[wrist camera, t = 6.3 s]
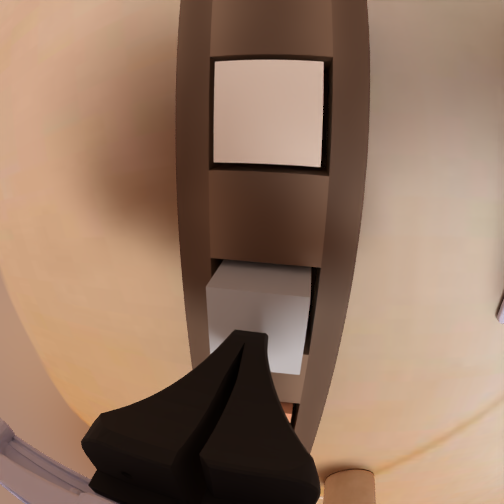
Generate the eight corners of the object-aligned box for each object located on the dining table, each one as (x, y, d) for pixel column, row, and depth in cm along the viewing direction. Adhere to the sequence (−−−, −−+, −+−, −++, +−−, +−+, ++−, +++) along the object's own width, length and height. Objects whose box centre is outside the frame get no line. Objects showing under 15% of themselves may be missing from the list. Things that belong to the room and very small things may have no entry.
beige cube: (320, 77, 13) (323, 61, 10) (317, 160, 15) (320, 167, 11) (235, 76, 14) (214, 61, 10) (233, 156, 15) (213, 162, 12)
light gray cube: (311, 261, 15) (310, 297, 12) (303, 331, 17) (299, 375, 13) (227, 254, 16) (205, 286, 13) (228, 323, 17) (211, 363, 14)
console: (355, 17, 12) (365, -9, 9) (308, 435, 23) (305, 468, 20) (205, 17, 13) (181, -6, 10) (217, 423, 24) (206, 454, 21)
